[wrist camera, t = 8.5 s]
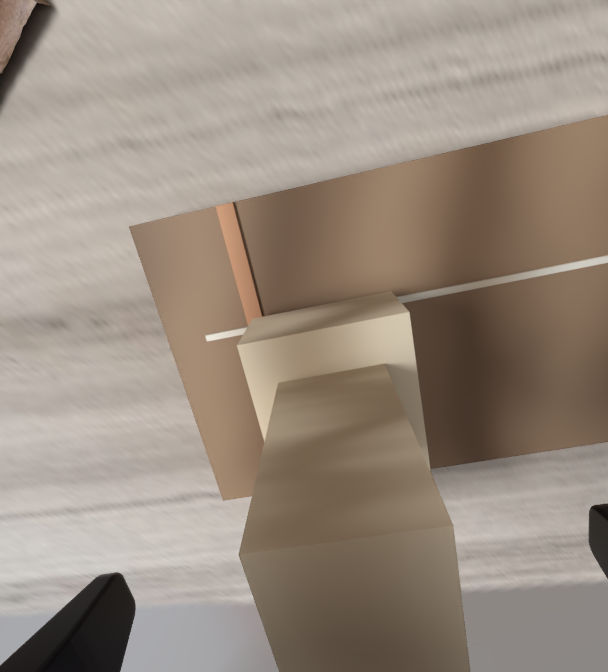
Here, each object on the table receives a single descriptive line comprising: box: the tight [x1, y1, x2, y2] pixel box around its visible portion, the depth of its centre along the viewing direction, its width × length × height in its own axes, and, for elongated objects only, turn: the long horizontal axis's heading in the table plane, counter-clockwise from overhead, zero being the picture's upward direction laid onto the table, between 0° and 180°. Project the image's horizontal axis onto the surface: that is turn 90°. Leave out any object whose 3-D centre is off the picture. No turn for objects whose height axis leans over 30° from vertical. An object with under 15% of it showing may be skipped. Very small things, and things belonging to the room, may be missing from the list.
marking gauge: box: [237, 291, 470, 672], centre depth 12 cm, size 5×10×11 cm, turn 12°
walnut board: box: [129, 115, 608, 500], centre depth 15 cm, size 24×12×2 cm, turn 102°
